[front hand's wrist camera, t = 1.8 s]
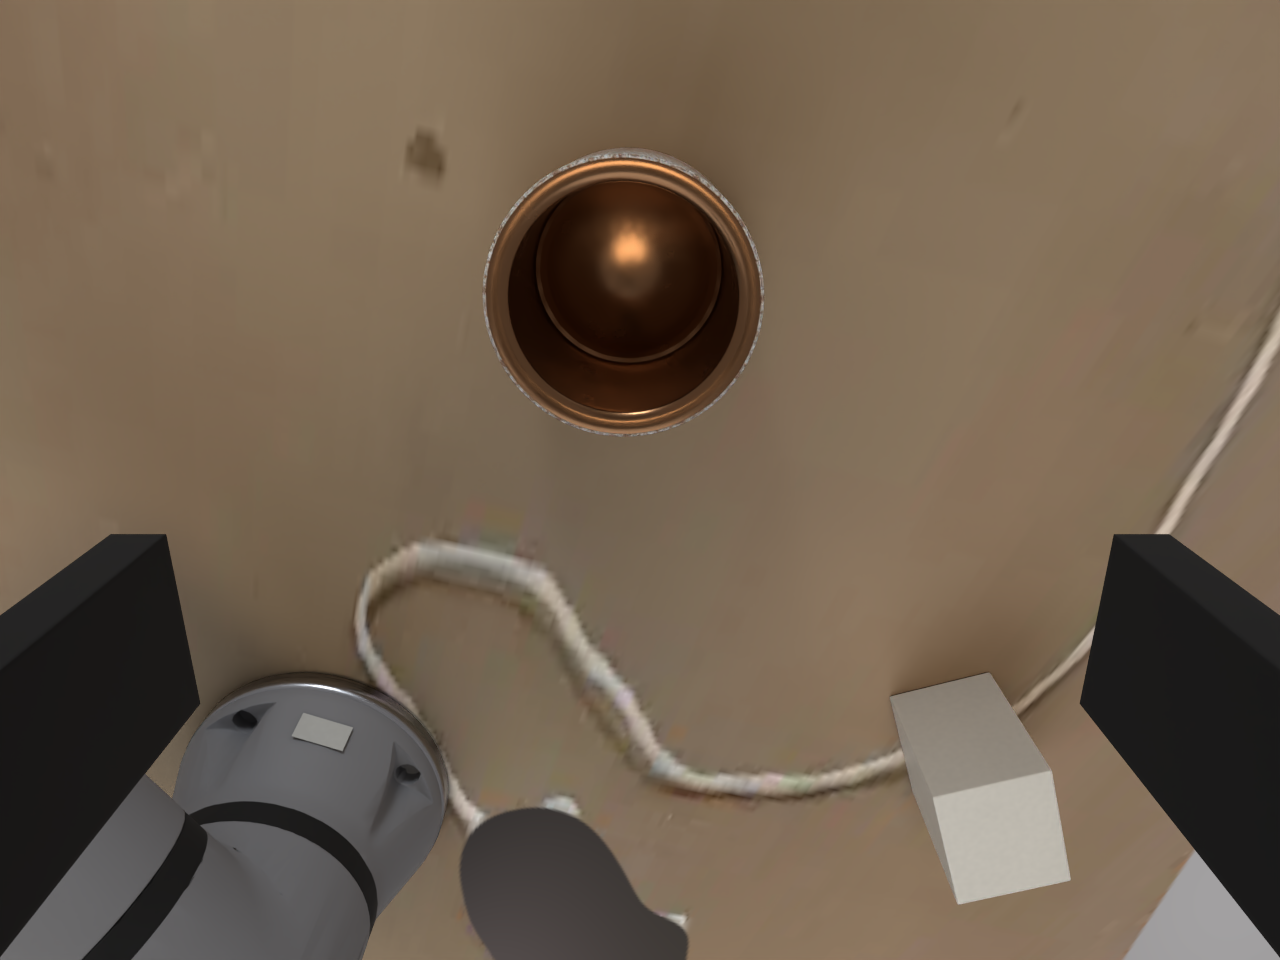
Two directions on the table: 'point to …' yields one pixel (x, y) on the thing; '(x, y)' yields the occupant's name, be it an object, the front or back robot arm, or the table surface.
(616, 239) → the planter
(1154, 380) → the table surface
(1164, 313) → the table surface
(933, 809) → the brick
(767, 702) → the table surface
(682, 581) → the table surface
